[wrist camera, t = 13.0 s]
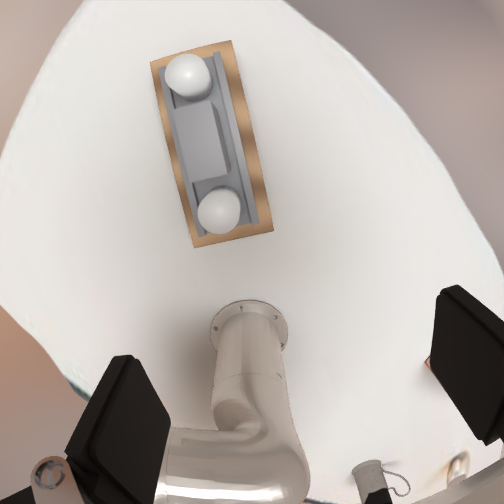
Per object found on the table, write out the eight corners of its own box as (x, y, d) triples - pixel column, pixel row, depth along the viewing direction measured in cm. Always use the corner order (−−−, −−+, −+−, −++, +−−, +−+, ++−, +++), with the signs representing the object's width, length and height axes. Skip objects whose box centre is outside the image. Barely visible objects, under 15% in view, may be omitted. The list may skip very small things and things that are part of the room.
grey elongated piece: (258, 218, 37) (262, 238, 29) (201, 231, 37) (189, 254, 29) (221, 57, 31) (214, 32, 23) (164, 73, 31) (141, 54, 23)
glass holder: (351, 465, 66) (363, 508, 52) (400, 450, 65) (416, 490, 51) (351, 478, 69) (362, 518, 54) (396, 464, 68) (411, 501, 54)
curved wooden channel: (270, 218, 44) (274, 231, 38) (201, 233, 45) (194, 248, 38) (233, 56, 37) (231, 39, 30) (164, 74, 37) (149, 62, 31)
